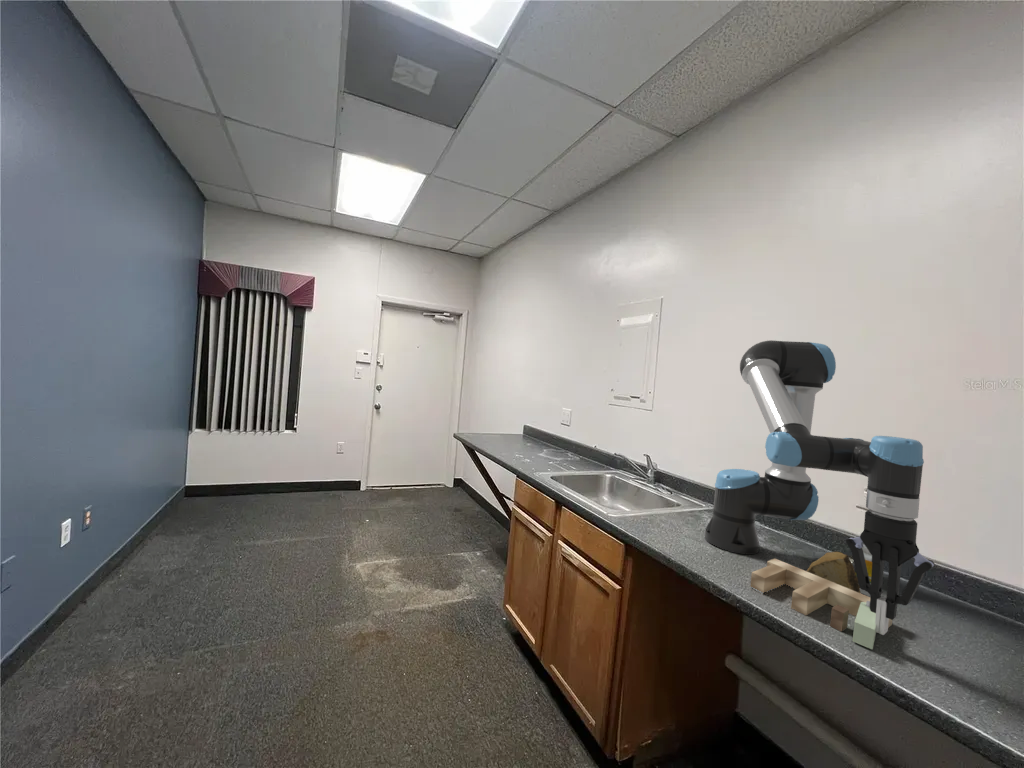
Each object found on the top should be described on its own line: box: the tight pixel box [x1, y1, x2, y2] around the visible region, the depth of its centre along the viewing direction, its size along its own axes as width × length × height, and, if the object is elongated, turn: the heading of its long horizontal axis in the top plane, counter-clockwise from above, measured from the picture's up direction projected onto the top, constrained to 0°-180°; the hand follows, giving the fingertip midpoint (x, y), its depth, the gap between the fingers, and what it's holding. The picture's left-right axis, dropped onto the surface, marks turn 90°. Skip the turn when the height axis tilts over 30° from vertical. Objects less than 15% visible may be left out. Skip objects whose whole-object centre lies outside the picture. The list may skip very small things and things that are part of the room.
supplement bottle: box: [855, 543, 872, 584], centre depth 106 cm, size 5×5×10 cm
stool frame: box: [749, 557, 893, 632], centre depth 93 cm, size 24×15×4 cm, turn 32°
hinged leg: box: [852, 601, 877, 650], centre depth 82 cm, size 12×3×5 cm, turn 133°
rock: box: [806, 551, 862, 594], centre depth 103 cm, size 11×9×10 cm
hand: (881, 631), depth 79 cm, fingers closed
